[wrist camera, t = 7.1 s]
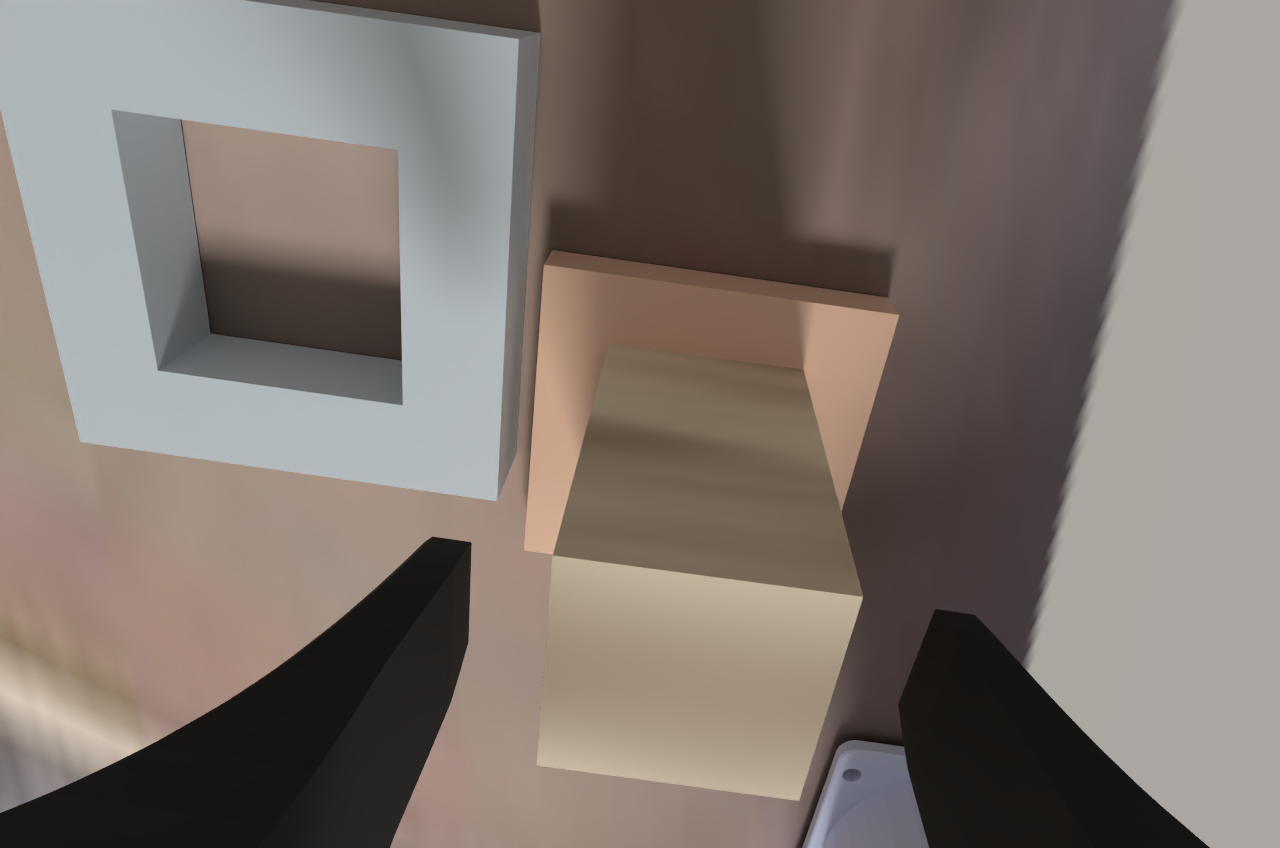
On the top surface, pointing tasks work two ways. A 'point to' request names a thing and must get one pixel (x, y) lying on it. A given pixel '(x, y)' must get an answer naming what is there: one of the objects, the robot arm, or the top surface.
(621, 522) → the birch block
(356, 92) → the board
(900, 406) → the top surface
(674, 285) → the terracotta tile
